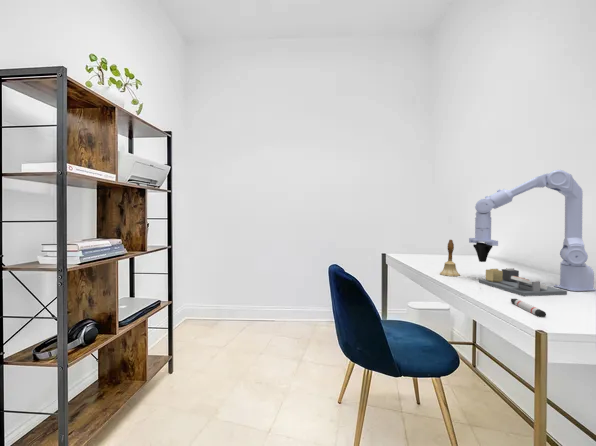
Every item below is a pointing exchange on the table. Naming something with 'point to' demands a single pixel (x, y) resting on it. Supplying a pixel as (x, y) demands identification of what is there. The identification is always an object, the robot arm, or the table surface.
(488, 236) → the robot arm
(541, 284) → the rocker
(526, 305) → the marker
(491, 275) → the brass slider
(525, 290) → the panel
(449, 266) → the hand bell
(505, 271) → the black slider
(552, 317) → the table surface
